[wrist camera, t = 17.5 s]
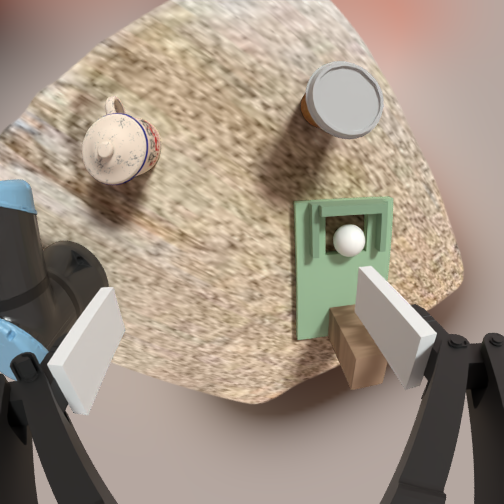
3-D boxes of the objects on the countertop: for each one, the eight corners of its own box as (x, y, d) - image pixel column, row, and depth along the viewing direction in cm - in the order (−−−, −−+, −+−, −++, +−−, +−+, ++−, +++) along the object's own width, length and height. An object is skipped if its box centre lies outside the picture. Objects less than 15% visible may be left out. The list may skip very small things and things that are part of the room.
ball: (340, 256, 43) (336, 221, 44) (331, 259, 48) (327, 228, 49) (372, 253, 43) (367, 219, 44) (360, 256, 48) (356, 226, 49)
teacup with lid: (169, 168, 43) (148, 177, 33) (114, 183, 44) (80, 198, 33) (153, 91, 39) (127, 77, 28) (98, 110, 39) (61, 104, 29)
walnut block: (327, 336, 53) (351, 390, 40) (329, 307, 51) (356, 359, 38) (354, 332, 53) (382, 383, 40) (357, 303, 51) (389, 352, 38)
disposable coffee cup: (359, 129, 43) (397, 127, 31) (302, 146, 43) (325, 149, 32) (338, 71, 39) (370, 52, 28) (280, 86, 40) (295, 69, 29)
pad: (296, 335, 54) (301, 352, 50) (293, 201, 46) (300, 208, 41) (377, 323, 55) (388, 338, 50) (389, 196, 46) (403, 203, 42)
